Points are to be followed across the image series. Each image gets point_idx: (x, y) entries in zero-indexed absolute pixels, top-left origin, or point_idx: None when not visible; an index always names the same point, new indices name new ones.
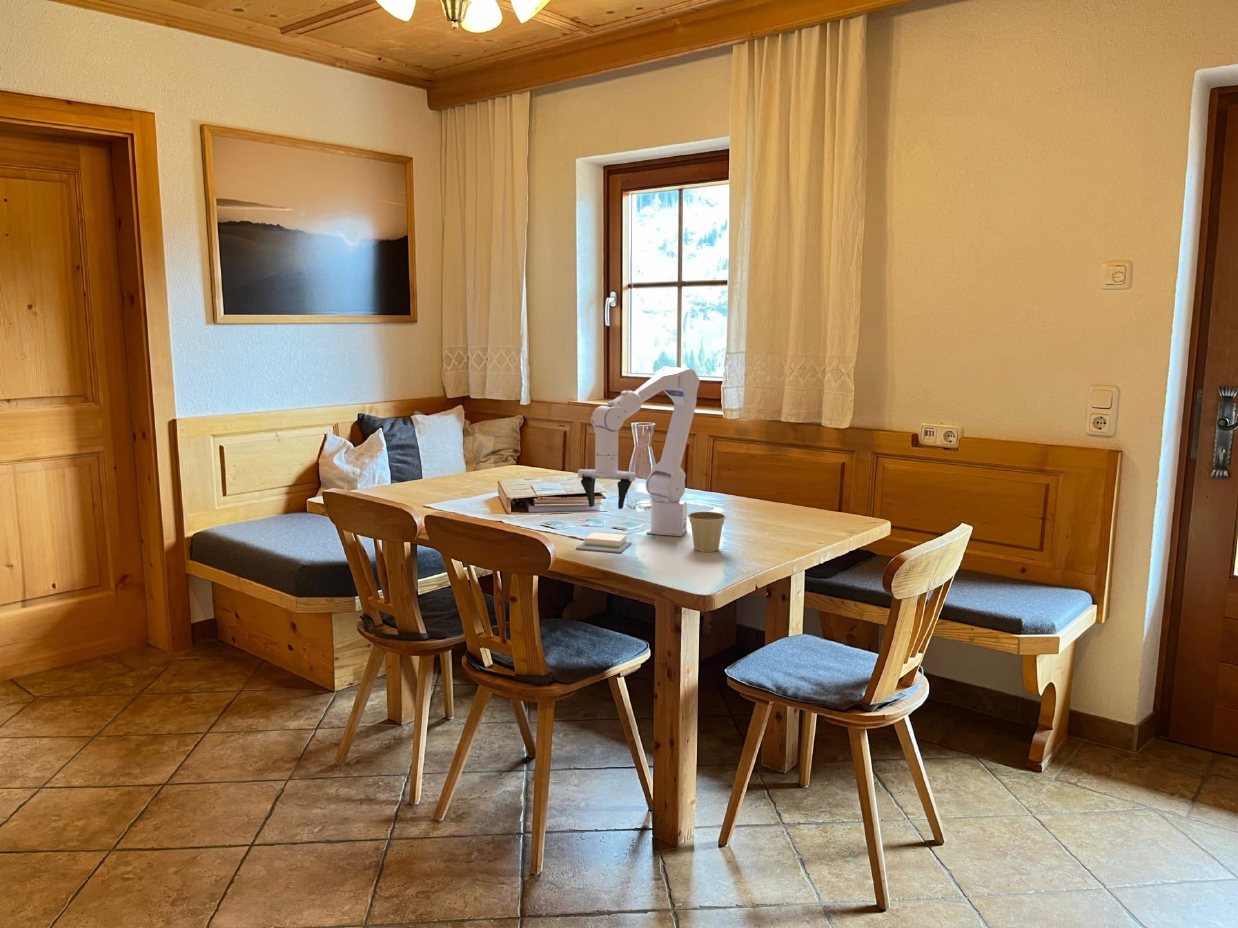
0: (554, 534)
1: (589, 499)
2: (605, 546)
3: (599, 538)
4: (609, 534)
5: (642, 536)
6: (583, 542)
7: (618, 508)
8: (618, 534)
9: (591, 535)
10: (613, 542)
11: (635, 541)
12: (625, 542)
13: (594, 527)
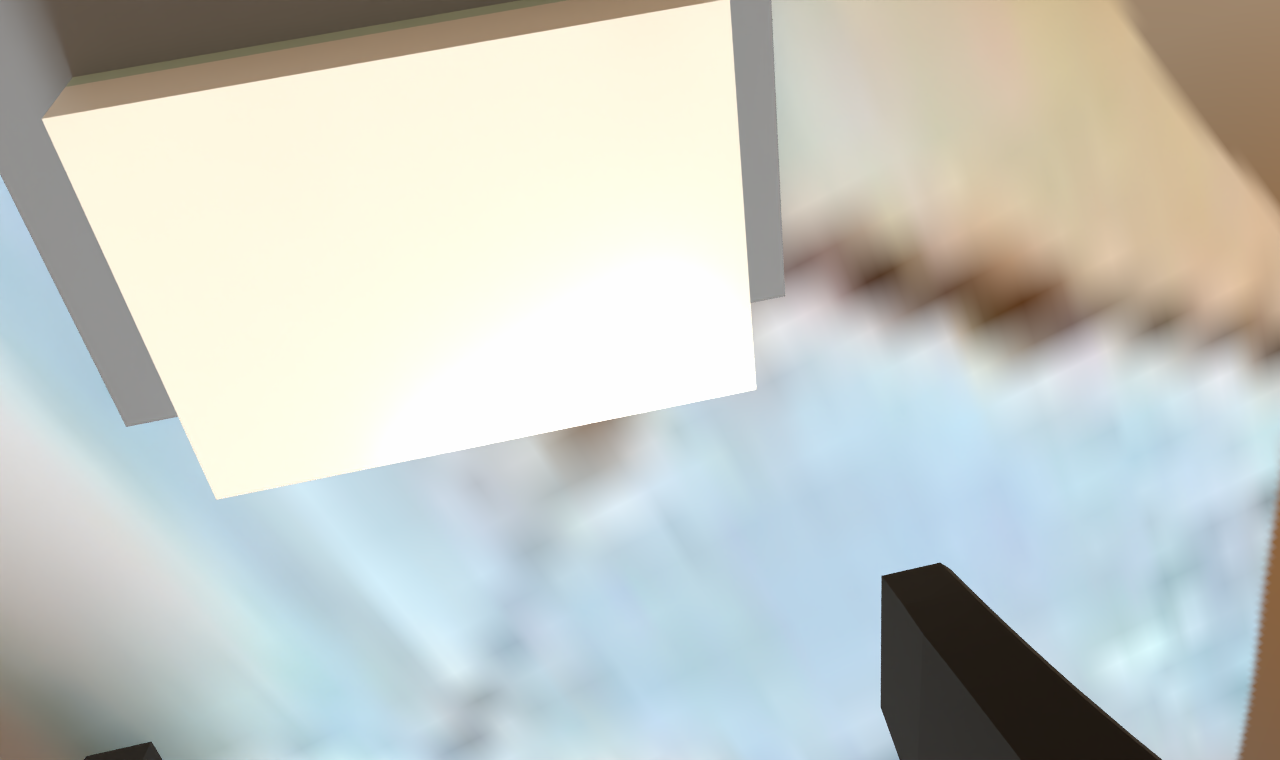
0: (1273, 308)
1: (1029, 699)
2: (318, 7)
3: (480, 104)
4: (469, 406)
5: (251, 729)
6: (769, 65)
7: (146, 751)
8: (346, 469)
9: (698, 215)
10: (170, 81)
11: (172, 535)
12: None
13: None
